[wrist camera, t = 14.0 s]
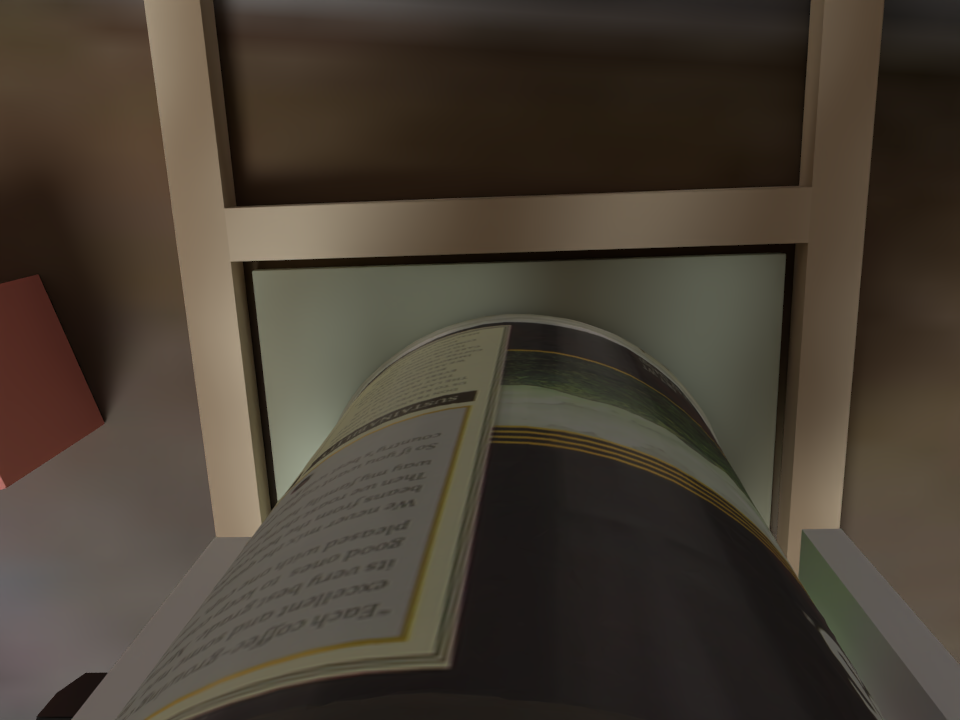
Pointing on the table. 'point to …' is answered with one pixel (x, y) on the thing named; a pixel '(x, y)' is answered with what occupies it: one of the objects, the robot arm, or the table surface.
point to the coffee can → (511, 557)
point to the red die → (37, 383)
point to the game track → (528, 281)
